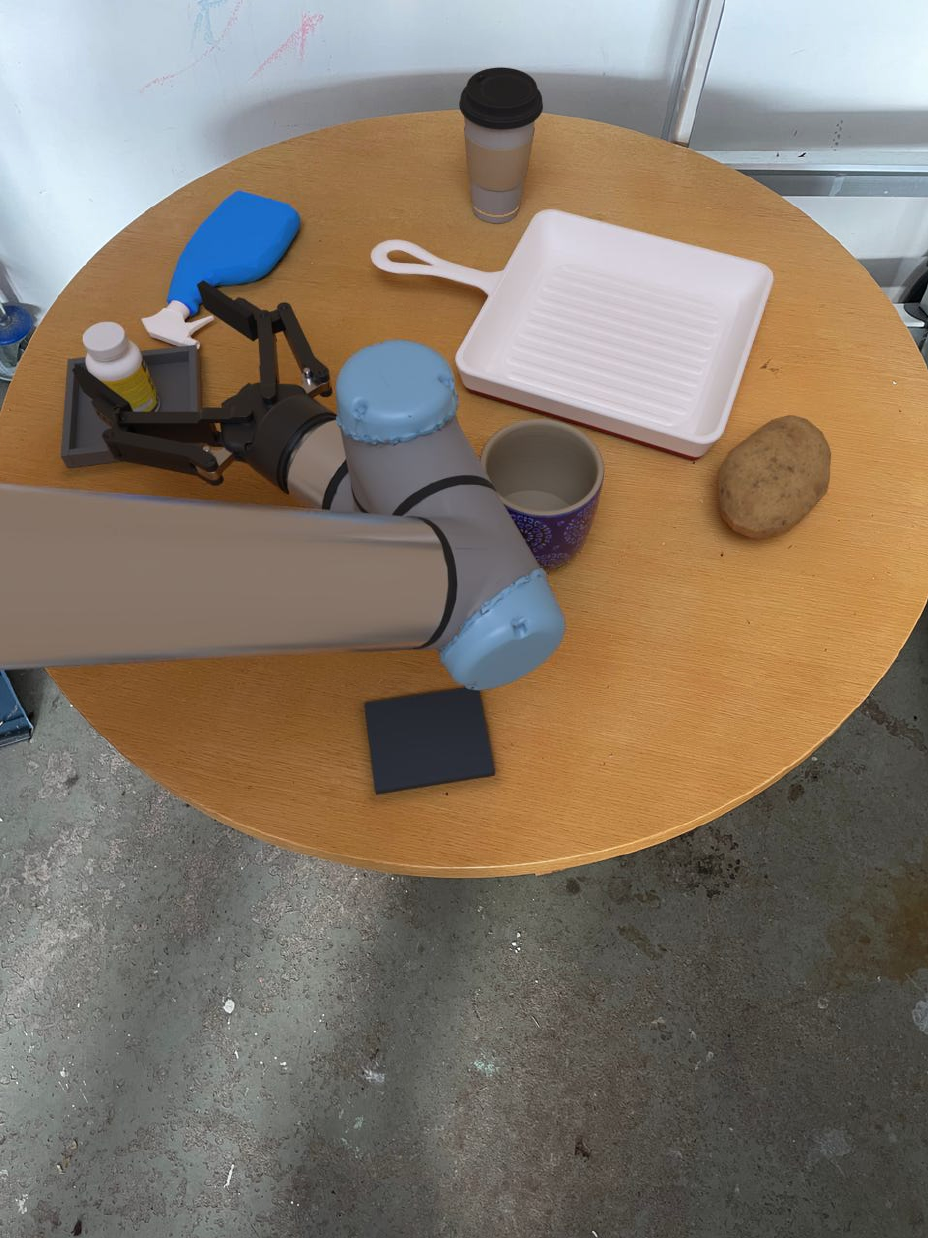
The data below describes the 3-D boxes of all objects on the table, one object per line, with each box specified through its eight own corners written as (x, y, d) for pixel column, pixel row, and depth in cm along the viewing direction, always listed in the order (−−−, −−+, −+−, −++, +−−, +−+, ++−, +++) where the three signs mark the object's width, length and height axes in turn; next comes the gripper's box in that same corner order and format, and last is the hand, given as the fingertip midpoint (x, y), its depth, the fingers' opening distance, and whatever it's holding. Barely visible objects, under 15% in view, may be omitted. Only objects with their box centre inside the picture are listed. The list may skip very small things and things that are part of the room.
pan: (706, 477, 88) (719, 446, 84) (321, 359, 96) (315, 325, 92) (765, 299, 101) (778, 265, 97) (422, 208, 109) (421, 172, 105)
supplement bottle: (171, 409, 91) (142, 337, 83) (126, 435, 90) (91, 364, 81) (144, 381, 93) (113, 308, 85) (99, 405, 92) (63, 333, 83)
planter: (599, 579, 82) (618, 507, 72) (485, 593, 81) (490, 523, 71) (574, 488, 87) (589, 410, 78) (467, 500, 86) (469, 423, 77)
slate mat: (375, 795, 71) (375, 791, 71) (364, 707, 75) (363, 702, 74) (494, 776, 72) (495, 771, 71) (478, 689, 76) (478, 685, 75)
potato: (680, 531, 85) (700, 479, 78) (745, 442, 90) (769, 386, 84) (770, 581, 82) (800, 532, 75) (832, 486, 88) (864, 432, 81)
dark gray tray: (67, 468, 88) (60, 456, 86) (74, 371, 95) (67, 358, 93) (203, 451, 89) (198, 439, 88) (200, 357, 96) (195, 344, 94)
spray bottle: (227, 184, 106) (115, 315, 95) (307, 206, 104) (202, 342, 93) (233, 205, 109) (125, 335, 98) (311, 227, 107) (209, 363, 96)
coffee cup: (464, 182, 111) (465, 59, 98) (537, 189, 111) (548, 66, 98) (453, 229, 107) (453, 107, 94) (529, 236, 106) (540, 115, 93)
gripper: (210, 584, 68) (44, 447, 74) (422, 402, 77) (258, 295, 84) (183, 528, 61) (4, 384, 68) (419, 337, 70) (241, 226, 77)
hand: (144, 334), depth 76 cm, fingers open, 13 cm apart
